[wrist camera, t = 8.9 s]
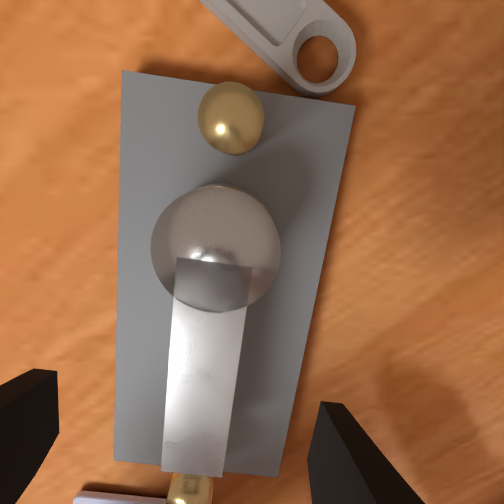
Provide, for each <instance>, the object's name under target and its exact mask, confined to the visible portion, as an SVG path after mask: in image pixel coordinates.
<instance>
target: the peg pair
mask: <svg viewBox="0 0 504 504" xmlns="http://www.w3.org/2000/svg"><path fill="white" fill-rule="evenodd" d="M198 125H199V129H200V132H201V134H202V136H203V137H204V139H205V140H206V141H207V142H208V143H209V144H210V145H211V146H212V147H213V148H215V149H217V150H219V151H221V152H223V153H225V154H227V155H230V156H242V155H245V154H247V153H249V152H250V151H252V150H253V149H254V148H255V147H256V145H257V144H258V141H259V139H260V136H261V132H262V129H263V125H264V111H263V107H262V104H261V102H260V100H259V98H258V96H257V95H256V94H255V92H254V91H252V90H251V89H250V88H249V87H248V86H246V85H244V84H241V83H239V82H233V81H227V82H222V83H219V84H217V85H215V86H213V87H212V88H210V89H209V90H208V91H207V92H206V94H205V95H204V96H203V98H202V100H201V102H200V105H199V108H198ZM213 485H214V477H211V476H201V475H192V474H182V473H173V476H172V480H171V484H170V488H169V492H168V495H167V499H166V503H165V504H211V502H212V494H213Z"/></svg>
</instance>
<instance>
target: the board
mask: <svg viewBox="0 0 504 504" xmlns="http://www.w3.org/2000/svg"><path fill="white" fill-rule="evenodd" d="M215 85H217V84H210V83H203V82H197V81H190V80H184V79H177V78H171V77H164V76H158V75H151V74H144V73H138V72H131V71H125V70H122V90H121V137H120V185H119V232H118V280H117V327H116V375H115V422H114V461H124V462H133V463H143V464H152V465H161V460H162V446H163V433H164V419H165V406H166V393H167V379H168V366H169V352H170V339H171V326H172V312H173V299H174V297H173V296H172V295H171V294H170V293H169V292H168V291H167V290H166V289H165V287H164V286H163V285H162V284H161V282H160V280H159V279H158V277H157V275H156V272H155V270H154V267H153V264H152V260H151V251H150V244H151V236H152V233H153V229H154V226H155V224H156V222H157V220H158V218H159V216H160V215H161V213H162V212H163V211H164V210H165V208H166V207H167V206H168V205H169V204H170V203H172V202H173V201H174V200H175V199H177V198H178V197H180V196H182V195H184V194H186V193H187V192H190V191H192V190H195V189H197V188H200V187H202V186H205V185H208V184H212V183H221V182H223V183H232V184H237V185H240V186H242V187H245V188H247V189H248V190H250V191H252V192H253V193H254V194H256V195H257V196H258V197H259V198H260V199H261V200H262V201H263V202H264V204H265V205H266V207H267V208H268V210H269V212H270V214H271V217H272V219H273V222H274V224H275V227H276V229H277V232H278V235H279V239H280V245H281V258H280V265H279V269H278V272H277V274H276V277H275V279H274V281H273V282H272V284H271V286H270V287H269V288H268V290H267V291H266V292H265V293H264V294H263V295H262V296H261V297H260V298H259V299H257V300H256V301H255V302H253V303H252V304H250V305H248V306H247V310H246V316H245V323H244V330H243V337H242V344H241V351H240V358H239V364H238V371H237V378H236V385H235V392H234V399H233V406H232V413H231V419H230V426H229V433H228V440H227V447H226V454H225V461H224V467H223V472H229V473H239V474H248V475H258V476H268V477H277V478H278V474H279V470H280V465H281V460H282V455H283V451H284V446H285V441H286V436H287V432H288V427H289V422H290V417H291V413H292V408H293V403H294V398H295V393H296V389H297V384H298V379H299V374H300V370H301V365H302V360H303V355H304V351H305V346H306V341H307V336H308V331H309V327H310V322H311V317H312V312H313V308H314V303H315V298H316V293H317V289H318V284H319V279H320V274H321V269H322V265H323V260H324V255H325V250H326V246H327V241H328V236H329V231H330V227H331V222H332V217H333V212H334V208H335V203H336V198H337V193H338V188H339V184H340V179H341V174H342V169H343V165H344V160H345V155H346V150H347V146H348V141H349V136H350V131H351V126H352V122H353V117H354V112H355V107H356V106H354V105H347V104H341V103H334V102H328V101H321V100H315V99H308V98H302V97H295V96H289V95H282V94H275V93H269V92H262V91H256V90H252V91H254V92H255V94H256V95H257V96H258V98H259V100H260V102H261V104H262V107H263V111H264V125H263V129H262V132H261V136H260V139H259V141H258V144H257V145H256V147H255V148H254V149H253V150H252V151H250V152H249V153H247V154H245V155H242V156H230V155H227V154H225V153H223V152H221V151H219V150H217V149H215V148H213V147H212V146H211V145H210V144H209V143H208V142H207V141H206V140H205V139H204V137H203V136H202V134H201V132H200V129H199V125H198V108H199V105H200V102H201V100H202V98H203V96H204V95H205V94H206V92H207V91H208V90H209V89H210V88H212V87H213V86H215Z"/></svg>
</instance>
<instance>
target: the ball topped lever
mask: <svg viewBox="0 0 504 504" xmlns="http://www.w3.org/2000/svg"><path fill="white" fill-rule="evenodd" d="M150 251H151V260H152V264H153V267H154V270H155V272H156V275H157V277H158V279H159V280H160V282H161V284H162V285H163V286H164V287H165V289H166V290H167V291H168V292H169V293H170V294H171V295H172V296H173V297H174V299H173V312H172V326H171V339H170V352H169V366H168V379H167V393H166V406H165V419H164V433H163V446H162V460H161V471H163V472H172V473H182V474H192V475H201V476H211V477H221V478H222V474H223V467H224V461H225V454H226V447H227V440H228V433H229V426H230V419H231V413H232V406H233V399H234V392H235V385H236V378H237V371H238V364H239V358H240V351H241V344H242V337H243V330H244V323H245V316H246V310H247V306H248V305H250V304H252V303H253V302H255V301H256V300H257V299H259V298H260V297H261V296H262V295H263V294H264V293H265V292H266V291H267V290H268V288H269V287H270V286H271V284H272V282H273V281H274V279H275V277H276V274H277V272H278V269H279V265H280V258H281V245H280V239H279V235H278V232H277V229H276V227H275V224H274V222H273V219H272V217H271V214H270V212H269V210H268V208H267V207H266V205H265V204H264V202H263V201H262V200H261V199H260V198H259V197H258V196H257V195H256V194H254V193H253V192H252V191H250V190H248V189H247V188H245V187H242V186H240V185H237V184H232V183H223V182H221V183H212V184H208V185H205V186H202V187H200V188H197V189H195V190H192V191H190V192H187V193H186V194H184V195H182V196H180V197H178V198H177V199H175V200H174V201H173V202H172V203H170V204H169V205H168V206H167V207H166V208H165V210H164V211H163V212H162V213H161V215H160V216H159V218H158V220H157V222H156V224H155V226H154V229H153V233H152V236H151V244H150Z"/></svg>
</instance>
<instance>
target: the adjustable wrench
mask: <svg viewBox="0 0 504 504" xmlns="http://www.w3.org/2000/svg"><path fill="white" fill-rule="evenodd" d="M199 1H200V2H201V3H202V4H203V5H204V6H205V7H206V8H208V9H209V10H210V11H211V12H212V13H213V14H214V15H215V16H216V17H217V18H218V19H219V20H220V21H221V22H222V23H224V24H225V25H226V26H227V27H228V28H229V29H230V30H231V31H232V32H233V33H234V34H235V35H236V36H237V37H239V38H240V39H241V40H242V41H243V42H244V43H245V44H246V45H247V46H248V47H249V48H250V49H251V50H252V51H253V52H255V53H256V54H257V55H258V56H259V57H260V58H261V59H262V60H263V61H264V62H265V63H266V64H267V65H268V66H269V67H271V68H272V69H273V70H274V71H275V72H276V73H277V74H278V75H279V76H280V77H281V78H282V79H283V80H284V81H285V82H287V83H288V84H289V85H290V86H291V87H292V88H293V89H294V90H295V91H297V92H298V93H300V94H301V95H303V96H307V97H311V98H316V97H323V96H325V95H327V94H329V93H331V92H332V91H334V90H335V89H336V88H337V87H338V86H339V85H340V84H341V83H342V82H343V81H344V80H345V79H346V78H347V77H348V75H349V74H350V72H351V70H352V68H353V66H354V62H355V58H356V41H355V38H354V35H353V32H352V30H351V29H350V28H349V26H348V25H347V23H346V22H345V21H344V20H343V19H342V18H341V17H340V16H339V15H338V14H337V13H336V12H335V11H334V10H333V9H332V8H331V7H330V6H329V5H327V4H326V3H325V2H324V1H323V0H199ZM313 36H324V37H327V38H328V39H330V40H331V41H332V42H333V43H334V45H335V46H336V48H337V51H338V60H339V61H338V65H337V68H336V70H335V72H334V74H333V75H332V76H331V77H330V78H329V79H328V80H326V81H324V82H321V83H312V82H309V81H307V80H306V79H304V78H303V77H302V75H301V74H300V73H299V70H298V67H297V55H298V51H299V49H300V47H301V45H302V44H303V43H304V42H305V41H306V40H307V39H309V38H311V37H313Z"/></svg>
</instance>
